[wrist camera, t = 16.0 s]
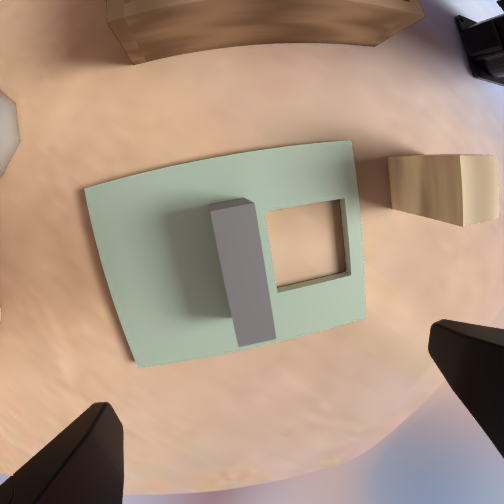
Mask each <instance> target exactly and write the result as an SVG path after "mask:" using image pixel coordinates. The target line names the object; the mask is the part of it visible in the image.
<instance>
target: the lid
mask: <svg viewBox="0 0 504 504" xmlns="http://www.w3.org/2000/svg"><path fill="white" fill-rule="evenodd" d="M84 191H85V196H86V201H87V206H88V211H89V216H90V220H91V224H92V229H93V233H94V237H95V241H96V245H97V248H98V252H99V256H100V260H101V263H102V267H103V270H104V274H105V277H106V280H107V284H108V287H109V290H110V293H111V296H112V299H113V302H114V305H115V308H116V311H117V314H118V317H119V320H120V323H121V325H122V328H123V331H124V334H125V336H126V339H127V341H128V344H129V347H130V349H131V352H132V354H133V357H134V359H135V362H136V364H137V366H138V368H143V367H150V366H157V365H164V364H170V363H177V362H183V361H189V360H195V359H200V358H206V357H211V356H216V355H222V354H227V353H232V352H236V351H241V350H246V349H250V348H255V347H259V346H264V345H268V344H272V343H277V342H281V341H285V340H289V339H293V338H297V337H301V336H305V335H308V334H312V333H316V332H320V331H323V330H327V329H330V328H334V327H337V326H341V325H344V324H348V323H351V322H354V321H358V320H361V319H364V318H366V308H365V272H364V252H363V237H362V224H361V213H360V203H359V194H358V185H357V177H356V169H355V162H354V155H353V148H352V142H351V140H345V141H333V142H322V143H312V144H303V145H294V146H286V147H278V148H271V149H264V150H257V151H250V152H244V153H238V154H232V155H226V156H220V157H214V158H209V159H204V160H199V161H194V162H189V163H184V164H179V165H174V166H170V167H165V168H161V169H156V170H152V171H148V172H144V173H140V174H136V175H132V176H128V177H124V178H120V179H116V180H113V181H109V182H105V183H102V184H98V185H95V186H91V187H88V188H84ZM337 199H340V208H341V217H342V227H343V238H344V249H345V262H346V272H342V273H338V274H334V275H330V276H326V277H322V278H317V279H313V280H309V281H305V282H300V283H296V284H292V285H287V286H283V287H278V288H277V287H276V280H275V274H274V267H273V261H272V254H271V248H270V241H269V235H268V228H267V222H266V216H265V212H267V211H272V210H278V209H283V208H289V207H295V206H301V205H306V204H312V203H318V202H324V201H331V200H337Z"/></svg>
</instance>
